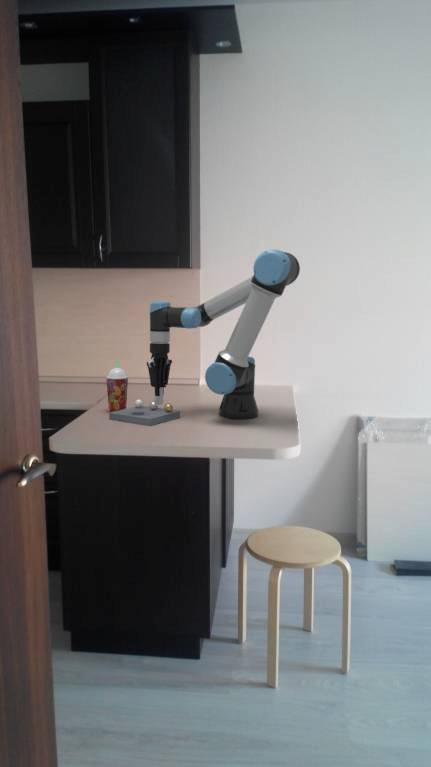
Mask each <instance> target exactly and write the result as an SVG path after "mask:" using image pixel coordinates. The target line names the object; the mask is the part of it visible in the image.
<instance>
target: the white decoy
mask: <svg viewBox="0 0 431 767" xmlns="http://www.w3.org/2000/svg"><path fill="white" fill-rule="evenodd" d="M142 406H144V402H143V400H142V399H136V400H135V402H134V407H137V408H141V407H142Z"/></svg>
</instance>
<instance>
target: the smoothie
mask: <svg viewBox="0 0 431 767" xmlns="http://www.w3.org/2000/svg"><path fill="white" fill-rule="evenodd" d="M105 378H106V391H107V404H108V409H109V413H110V412H114V411H119V410H123V409H127V403H128V402H127V401H128V383H129V376H128V374H127V373H126V371H125V370H124V369H123V368H121V367H119V360H115V367H113V368H112V369H110V370H109V372H108V373H107V376H105Z"/></svg>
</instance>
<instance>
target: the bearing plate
mask: <svg viewBox="0 0 431 767" xmlns="http://www.w3.org/2000/svg"><path fill="white" fill-rule="evenodd" d="M108 414H109V415H108V416H109V417H108V418H109V420H110V421H116V420H117V421H118V422H122V421H123V422H125V423H128V422H129V424H130V423H131V424H135V425H143V426H148V427H153V426H155V425H159V424H162V423H166V422H170V421H173V420H176V419H181V410H176V409H172V411H171V412H166V411H165V409H164V408H161V407H157V409H155V410H152V409H150V407H149V405H147V406H146V405H143V406H142V407H141V408H137V407H136V406H133V407H127V408H126V409H123V410H119V411H114V412H110V411H109V413H108ZM117 421H116V422H117Z"/></svg>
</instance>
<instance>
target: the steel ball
mask: <svg viewBox="0 0 431 767" xmlns="http://www.w3.org/2000/svg"><path fill="white" fill-rule="evenodd" d="M148 407H150V409H152V410H155V409H157V408H159V407H158V404H157V403H156V402H155V400H154V401H153V400H152V401H151V402H150V403H149V405H148Z"/></svg>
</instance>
